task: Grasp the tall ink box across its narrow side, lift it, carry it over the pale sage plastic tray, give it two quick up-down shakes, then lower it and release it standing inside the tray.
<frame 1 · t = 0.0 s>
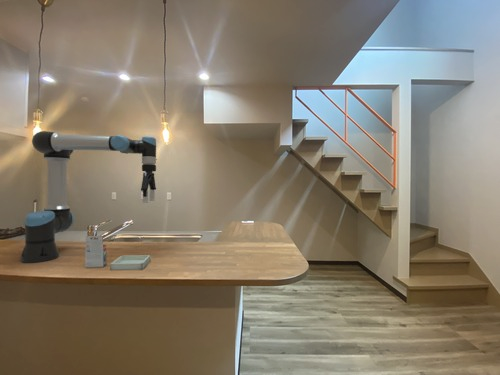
hand: (148, 201, 151), 28 cm above the table, fingers open, 13 cm apart
ink box: (96, 266, 123), on the table
tray: (131, 265, 126), on the table
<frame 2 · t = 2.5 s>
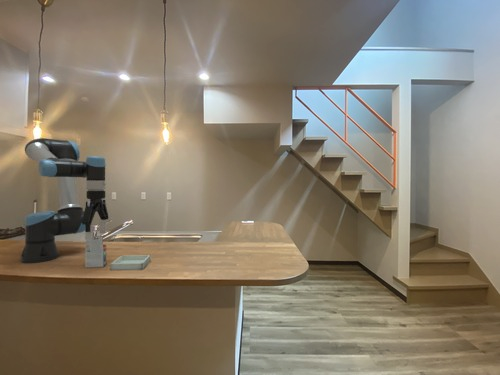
hand: (96, 236, 122), 14 cm above the table, fingers open, 13 cm apart
nothing on the table moved.
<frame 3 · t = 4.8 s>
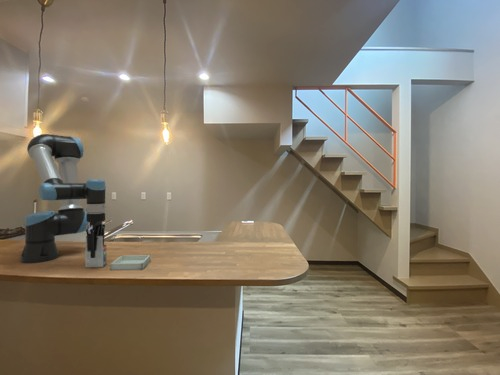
hand: (96, 262, 123), 2 cm above the table, fingers closed on ink box, 4 cm apart
ink box: (96, 266, 123), on the table, touching gripper
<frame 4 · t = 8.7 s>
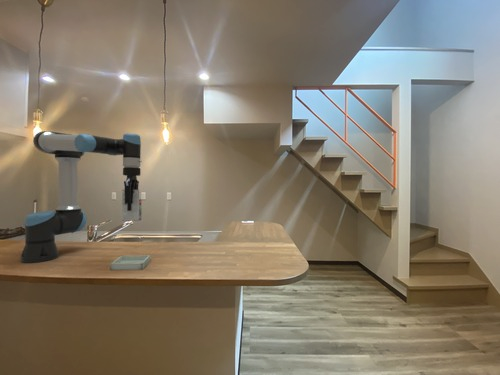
hand: (131, 216, 125), 23 cm above the table, fingers closed on ink box, 4 cm apart
ink box: (131, 220, 125), point 21 cm above the table, touching gripper
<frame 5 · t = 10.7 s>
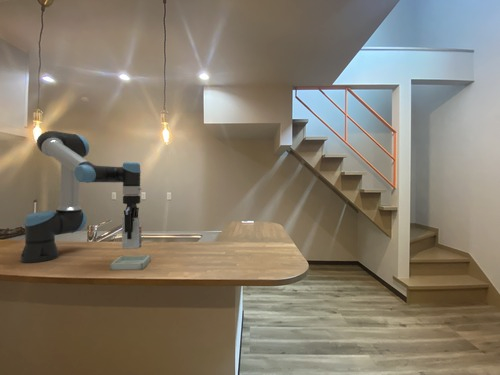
hand: (131, 244, 125), 10 cm above the table, fingers closed on ink box, 4 cm apart
ink box: (131, 248, 125), point 8 cm above the table, touching gripper
when the fingers open (4 cm above the table, at t = 12.7 s): ink box drops 1 cm, resting on tray.
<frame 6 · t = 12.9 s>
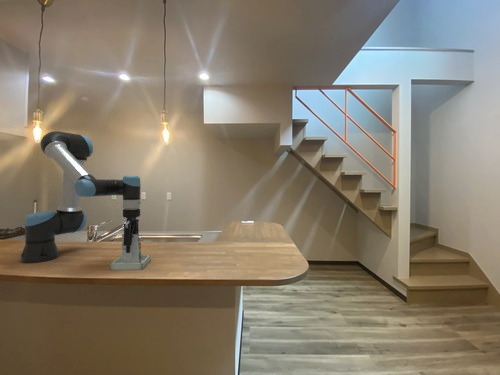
hand: (131, 257, 125), 4 cm above the table, fingers open, 6 cm apart
ink box: (131, 264, 126), resting on tray
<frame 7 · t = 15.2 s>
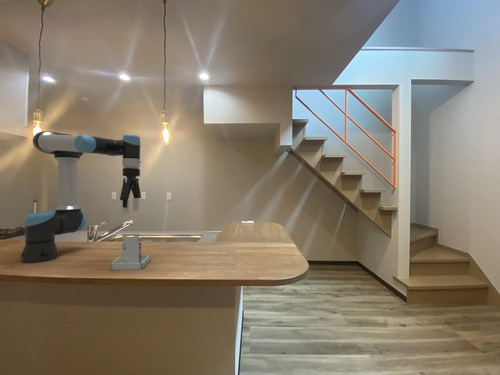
hand: (131, 212, 126), 25 cm above the table, fingers open, 13 cm apart
nothing on the table moved.
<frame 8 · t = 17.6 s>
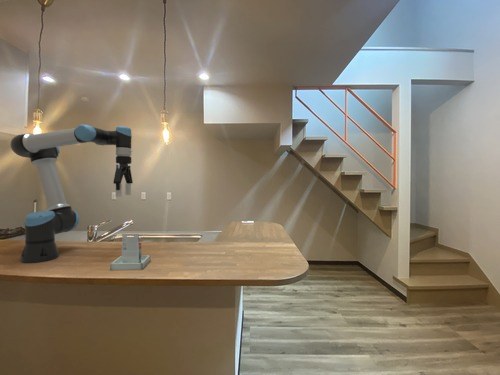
hand: (123, 195, 143), 32 cm above the table, fingers open, 13 cm apart
nothing on the table moved.
at the end: ink box inside the target area on the tray (0.1 cm from its centre), point 0.4 cm above the tray's base; ink box tilted 0°; the gripper is holding nothing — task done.
